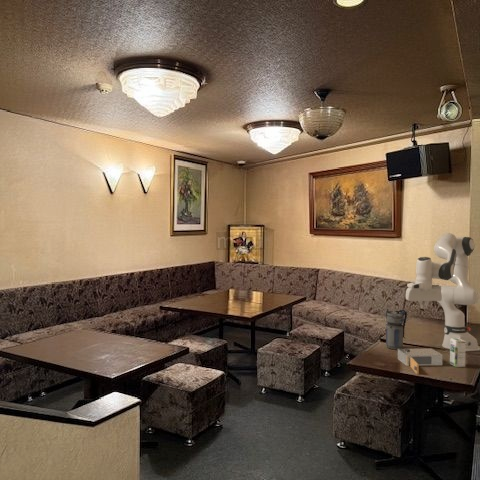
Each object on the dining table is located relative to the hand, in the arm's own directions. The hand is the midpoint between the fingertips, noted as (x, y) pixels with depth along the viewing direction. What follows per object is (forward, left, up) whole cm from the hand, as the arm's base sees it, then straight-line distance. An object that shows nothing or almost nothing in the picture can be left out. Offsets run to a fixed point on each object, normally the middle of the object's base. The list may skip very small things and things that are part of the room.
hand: (423, 308), depth 238 cm
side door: (+15, +21, -29) cm, 39 cm away
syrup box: (-13, +14, -29) cm, 35 cm away
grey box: (+6, +8, -29) cm, 31 cm away
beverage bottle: (+8, -20, -29) cm, 36 cm away
